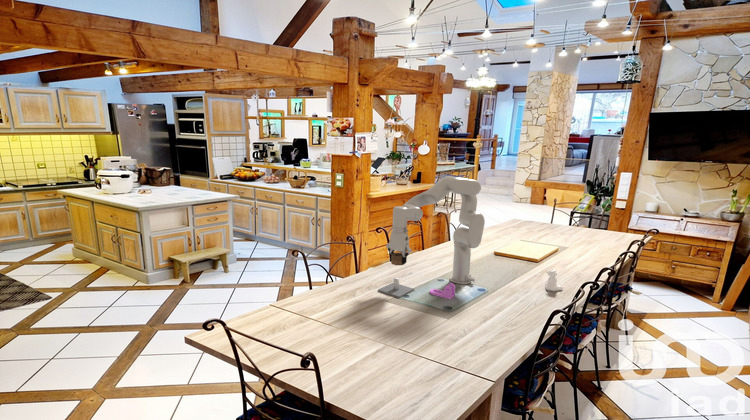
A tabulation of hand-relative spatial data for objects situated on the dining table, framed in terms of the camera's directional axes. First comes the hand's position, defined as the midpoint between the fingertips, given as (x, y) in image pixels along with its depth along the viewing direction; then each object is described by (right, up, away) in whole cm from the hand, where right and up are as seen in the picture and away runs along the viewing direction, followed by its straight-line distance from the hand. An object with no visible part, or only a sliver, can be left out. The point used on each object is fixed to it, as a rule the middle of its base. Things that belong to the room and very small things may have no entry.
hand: (398, 261), depth 218 cm
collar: (0, -1, 0) cm, 1 cm away
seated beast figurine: (+87, -17, +10) cm, 89 cm away
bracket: (+23, -18, -1) cm, 29 cm away
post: (-1, -16, +3) cm, 16 cm away
